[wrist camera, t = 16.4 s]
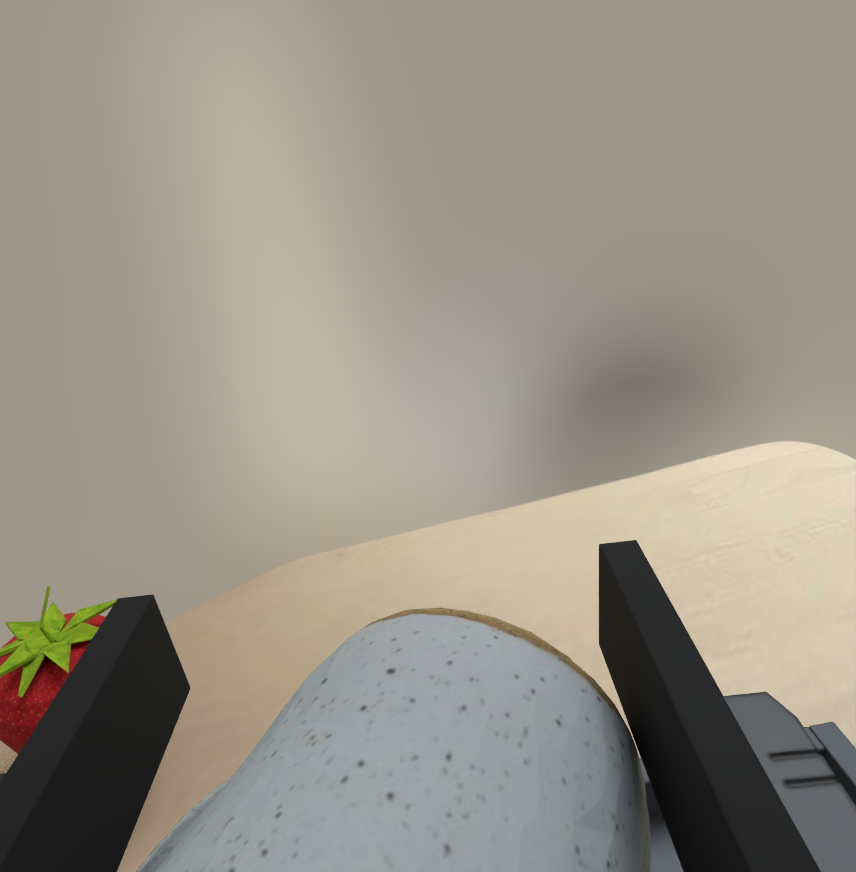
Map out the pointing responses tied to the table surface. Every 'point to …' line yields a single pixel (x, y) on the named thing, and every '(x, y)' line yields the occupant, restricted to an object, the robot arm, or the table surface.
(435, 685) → the ceramic mug
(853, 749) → the shallow grey tray
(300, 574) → the table surface
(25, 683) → the strawberry
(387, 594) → the table surface
